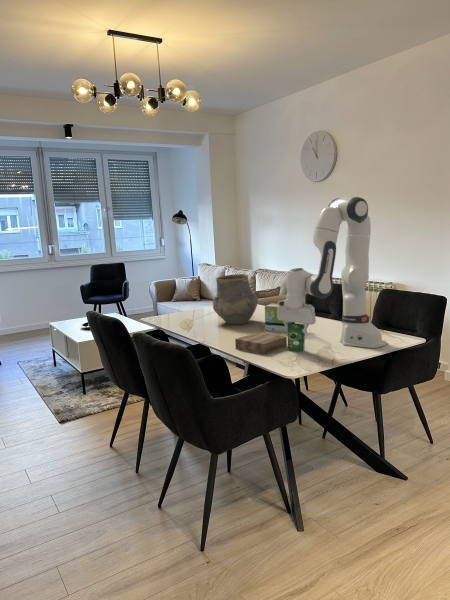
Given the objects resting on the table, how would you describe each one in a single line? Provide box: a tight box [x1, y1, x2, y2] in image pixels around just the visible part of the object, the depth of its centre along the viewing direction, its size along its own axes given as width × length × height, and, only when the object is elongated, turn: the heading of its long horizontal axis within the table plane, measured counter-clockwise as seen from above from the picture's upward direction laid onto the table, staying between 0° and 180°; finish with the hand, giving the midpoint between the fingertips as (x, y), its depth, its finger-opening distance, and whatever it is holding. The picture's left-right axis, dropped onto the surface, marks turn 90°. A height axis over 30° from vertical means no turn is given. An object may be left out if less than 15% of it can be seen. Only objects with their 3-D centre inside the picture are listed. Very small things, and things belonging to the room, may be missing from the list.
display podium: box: [234, 331, 288, 355], centre depth 226 cm, size 18×18×5 cm
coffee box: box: [287, 323, 306, 352], centre depth 217 cm, size 8×3×13 cm, turn 65°
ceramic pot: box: [212, 273, 259, 326], centre depth 286 cm, size 28×28×30 cm
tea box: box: [264, 302, 295, 334], centre depth 261 cm, size 15×10×15 cm
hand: (296, 331), depth 217 cm, fingers open, 8 cm apart
